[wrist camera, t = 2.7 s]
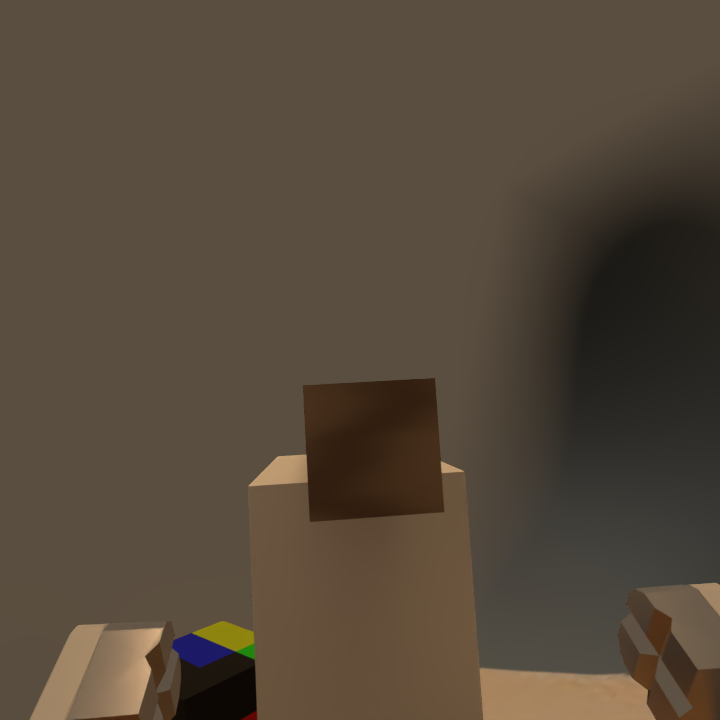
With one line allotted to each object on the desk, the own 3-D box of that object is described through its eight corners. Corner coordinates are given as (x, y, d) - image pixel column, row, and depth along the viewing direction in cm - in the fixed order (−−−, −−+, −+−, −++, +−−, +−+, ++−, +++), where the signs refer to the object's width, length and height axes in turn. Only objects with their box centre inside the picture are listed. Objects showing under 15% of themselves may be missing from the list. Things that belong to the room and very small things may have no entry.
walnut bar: (371, 451, 40) (368, 397, 40) (444, 512, 16) (434, 378, 16) (317, 455, 40) (314, 400, 40) (309, 522, 16) (303, 385, 16)
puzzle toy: (120, 792, 43) (118, 661, 44) (226, 731, 51) (222, 620, 51) (188, 855, 37) (184, 699, 37) (298, 774, 44) (293, 646, 45)
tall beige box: (433, 813, 39) (409, 448, 41) (510, 1091, 23) (464, 471, 25) (294, 829, 38) (277, 456, 40) (273, 1128, 22) (248, 486, 25)
